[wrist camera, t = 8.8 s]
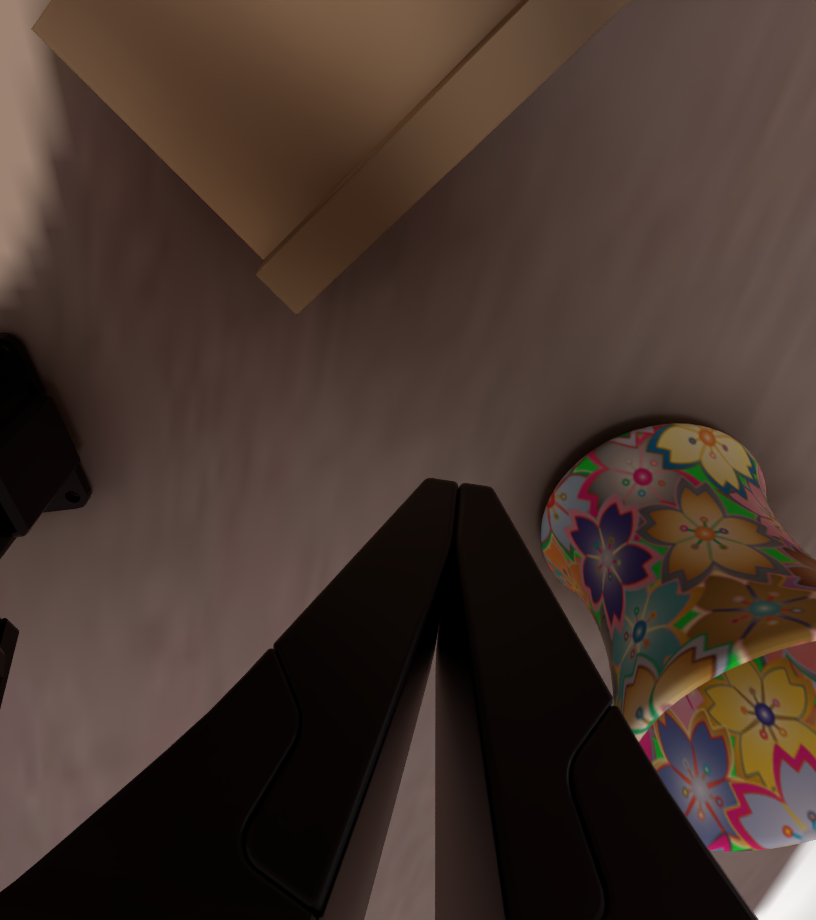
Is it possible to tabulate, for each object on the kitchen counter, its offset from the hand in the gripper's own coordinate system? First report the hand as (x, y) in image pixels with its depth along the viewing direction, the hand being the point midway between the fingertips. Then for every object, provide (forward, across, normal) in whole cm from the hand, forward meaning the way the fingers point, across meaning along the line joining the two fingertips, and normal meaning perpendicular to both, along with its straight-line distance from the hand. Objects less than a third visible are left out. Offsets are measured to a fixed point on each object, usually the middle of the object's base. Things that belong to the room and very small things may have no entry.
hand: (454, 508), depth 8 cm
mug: (+14, -9, +10) cm, 20 cm away
